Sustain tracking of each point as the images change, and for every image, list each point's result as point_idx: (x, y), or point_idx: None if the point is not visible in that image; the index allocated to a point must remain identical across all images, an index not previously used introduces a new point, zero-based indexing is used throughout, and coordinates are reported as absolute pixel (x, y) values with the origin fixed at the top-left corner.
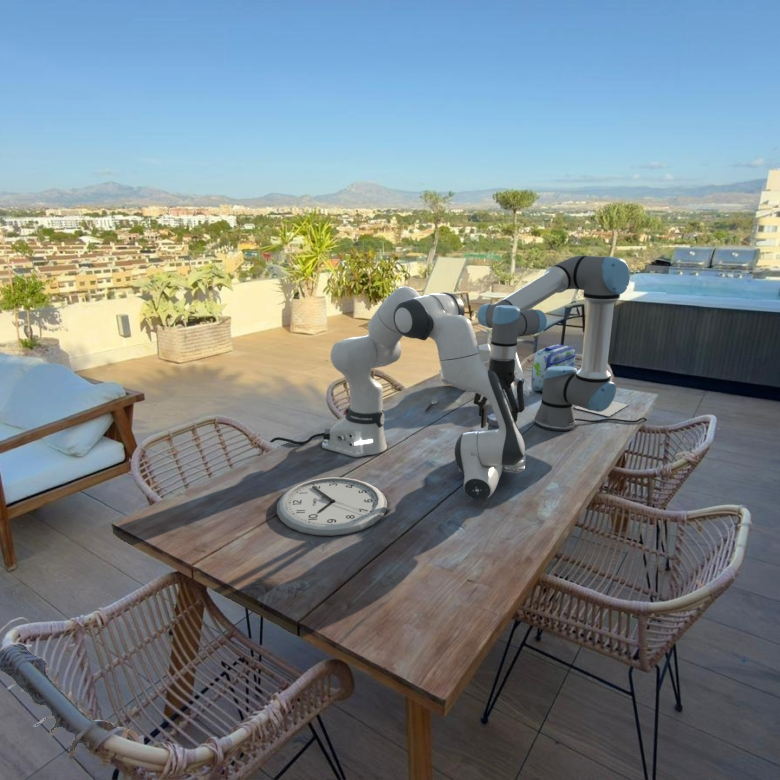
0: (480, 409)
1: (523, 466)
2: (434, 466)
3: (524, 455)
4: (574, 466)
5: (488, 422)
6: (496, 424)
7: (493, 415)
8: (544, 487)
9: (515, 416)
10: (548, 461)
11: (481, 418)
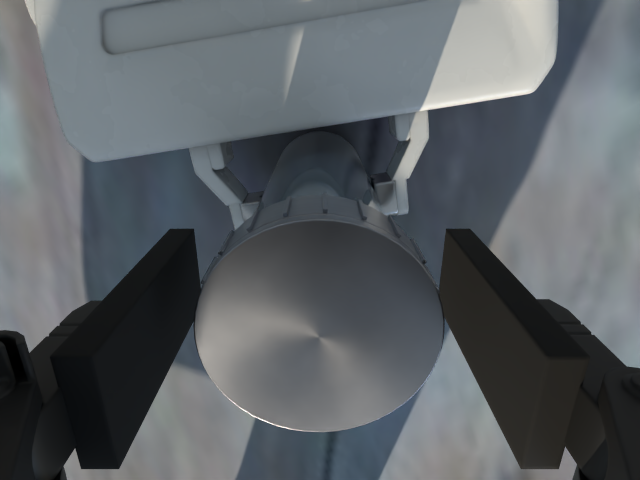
0: (593, 357)
1: (33, 4)
2: (625, 22)
3: (69, 132)
4: None
5: (402, 231)
6: (291, 203)
7: (384, 366)
8: (23, 96)
9: (40, 353)
10: None
11: (507, 269)
